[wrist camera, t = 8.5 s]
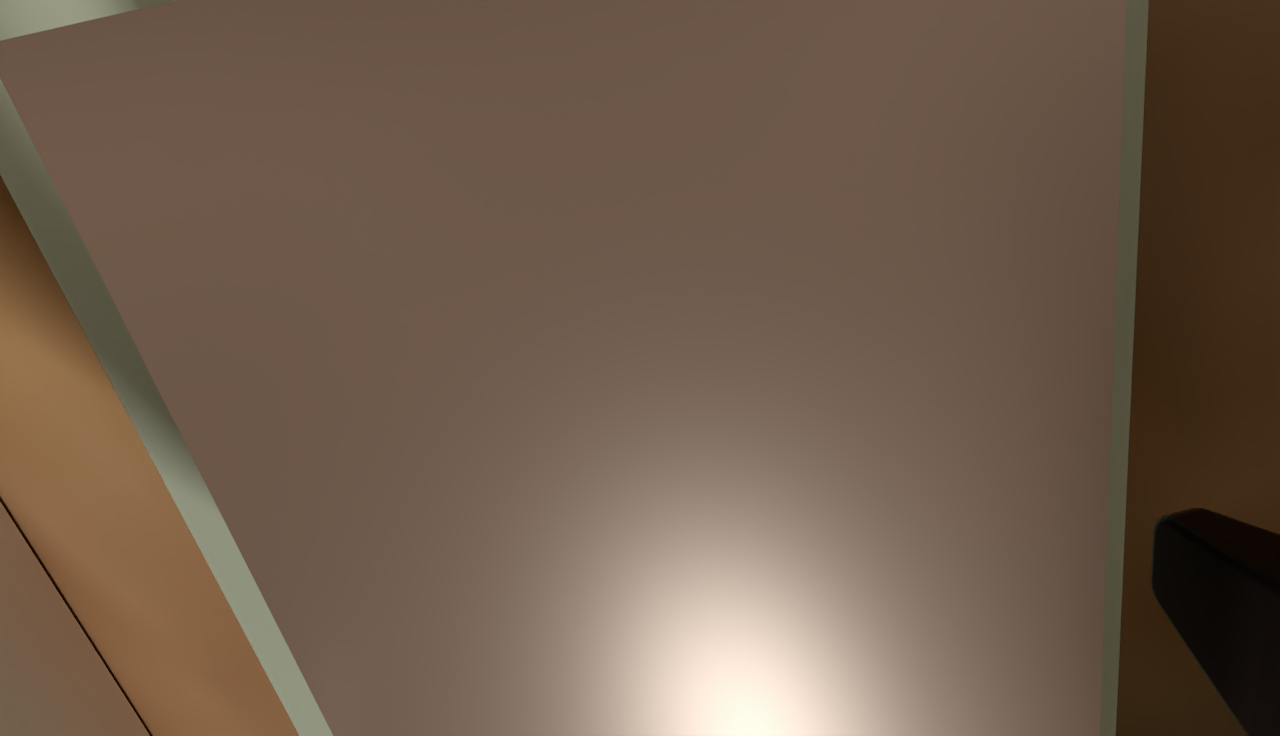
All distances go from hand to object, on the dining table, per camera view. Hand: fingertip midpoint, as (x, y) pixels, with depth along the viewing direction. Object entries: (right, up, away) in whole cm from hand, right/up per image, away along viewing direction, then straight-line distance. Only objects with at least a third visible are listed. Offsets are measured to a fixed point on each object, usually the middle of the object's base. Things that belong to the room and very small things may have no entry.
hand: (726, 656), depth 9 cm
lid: (0, +1, +2) cm, 2 cm away
